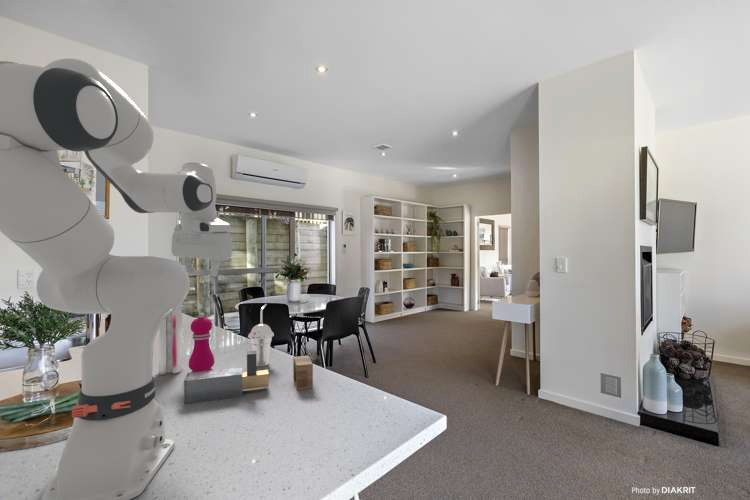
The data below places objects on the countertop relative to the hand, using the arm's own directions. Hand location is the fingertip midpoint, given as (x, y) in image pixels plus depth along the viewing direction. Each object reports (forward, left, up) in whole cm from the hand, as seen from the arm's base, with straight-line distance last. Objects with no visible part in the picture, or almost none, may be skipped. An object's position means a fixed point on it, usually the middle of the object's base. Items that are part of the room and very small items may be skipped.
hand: (201, 274), depth 98 cm
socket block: (-4, -27, -33) cm, 43 cm away
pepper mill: (+12, +1, -33) cm, 35 cm away
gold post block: (-4, -8, -32) cm, 33 cm away
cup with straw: (+18, -17, -33) cm, 41 cm away
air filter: (+20, +11, -33) cm, 40 cm away
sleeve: (-4, -4, -33) cm, 33 cm away
